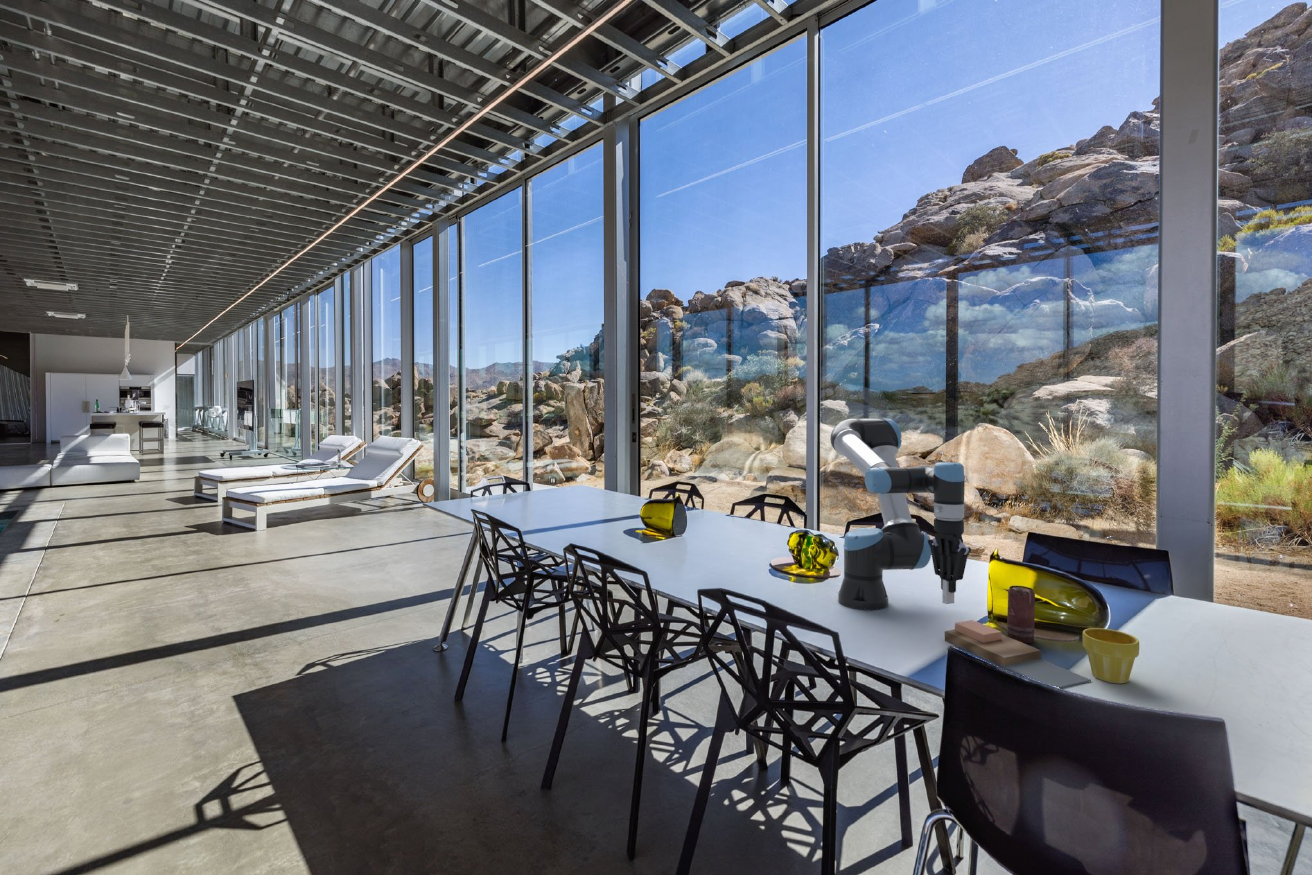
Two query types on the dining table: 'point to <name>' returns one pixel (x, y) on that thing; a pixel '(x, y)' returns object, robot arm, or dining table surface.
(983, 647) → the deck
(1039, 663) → the mat
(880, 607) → the robot arm
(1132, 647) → the plant pot
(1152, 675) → the dining table surface
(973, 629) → the tile
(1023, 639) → the can
